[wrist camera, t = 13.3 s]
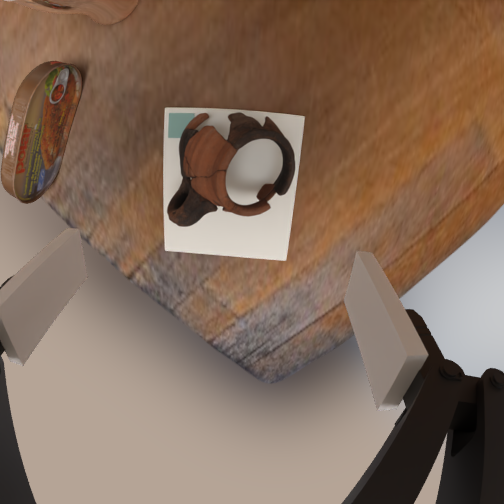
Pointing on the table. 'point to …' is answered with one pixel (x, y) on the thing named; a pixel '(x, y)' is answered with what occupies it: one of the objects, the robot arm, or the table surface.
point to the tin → (39, 129)
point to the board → (234, 189)
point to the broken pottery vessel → (223, 168)
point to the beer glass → (85, 8)
